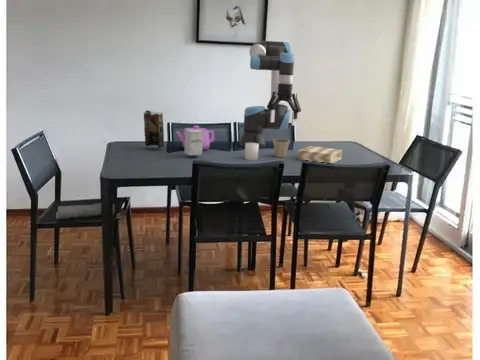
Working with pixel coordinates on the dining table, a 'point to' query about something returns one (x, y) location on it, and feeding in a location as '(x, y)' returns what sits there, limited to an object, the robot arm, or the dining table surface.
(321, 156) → the maple block
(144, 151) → the dining table surface
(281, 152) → the flower pot
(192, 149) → the supplement box
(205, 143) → the teakettle
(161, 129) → the juice carton
